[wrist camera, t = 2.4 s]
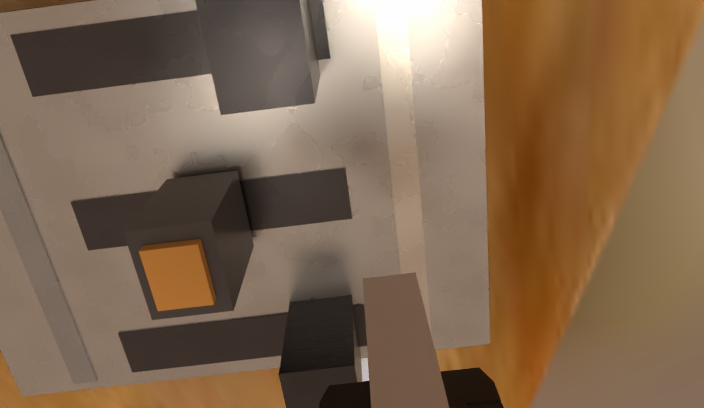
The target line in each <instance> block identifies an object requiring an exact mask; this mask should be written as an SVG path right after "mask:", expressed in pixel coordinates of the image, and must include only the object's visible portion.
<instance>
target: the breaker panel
mask: <svg viewBox="0 0 704 408" xmlns="http://www.w3.org/2000/svg"><path fill="white" fill-rule="evenodd" d="M236 170H237V171H238V176H239V181H240V185H241V190H242V194H243V199H244V203H245V208H246V212H247V217H248V221H249V226H250V230H251V235H252V239H253V244H254V247H253V250H252V254H251V257H250V260H249V263H248V266H247V270H246V273H245V276H244V279H243V282H242V286H241V289H240V292H239V295H238V299H237V302H236V305H235V308H234V311H227V312H219V313H210V314H201V315H193V316H184V317H176V318H167V319H158V320H152V319H151V316H150V313H149V309H148V306H147V303H146V300H145V297H144V294H143V291H142V288H141V285H140V282H139V279H138V276H137V273H136V270H135V267H134V264H133V260H132V257H131V254H130V251H129V248H128V245H127V242H126V239H125V236H124V233H123V231H124V230H125V229H126V228H127V227H128V225H129V224H130V223H131V222H132V221H133V219H134V218H135V217H136V216H137V215H138V213H139V212H140V211H141V210H142V209H143V207H144V206H145V205H146V204H147V203H148V201H149V200H150V199H151V198H152V197H153V195H154V194H155V193H156V192H157V190H158V189H159V188H160V187H161V186H162V184H163V183H164V182H165V181H166V180H167V179H171V178H180V177H188V176H196V175H204V174H212V173H220V172H228V171H236ZM414 272H416V276H417V280H418V284H419V288H420V292H421V296H422V300H423V304H424V308H425V312H426V316H427V320H428V324H429V328H430V332H431V336H432V340H433V344H434V348H435V350H440V349H449V348H458V347H466V346H475V345H484V344H490V316H489V276H488V235H487V194H486V153H485V112H484V72H483V31H482V0H94V1H86V2H79V3H71V4H64V5H56V6H49V7H41V8H34V9H27V10H19V11H12V12H4V13H0V350H1V352H2V354H3V356H4V359H5V361H6V363H7V365H8V367H9V369H10V371H11V373H12V375H13V377H14V380H15V382H16V384H17V386H18V388H19V390H20V392H21V394H22V396H32V395H41V394H50V393H58V392H67V391H76V390H85V389H94V388H103V387H112V386H121V385H129V384H138V383H147V382H156V381H165V380H174V379H183V378H191V377H200V376H209V375H218V374H227V373H236V372H245V371H254V370H262V369H271V368H280V369H279V377H280V382H281V386H282V391H283V395H284V399H285V404H286V408H319V402H320V400H321V399H322V397H323V395H324V393H325V392H326V390H327V388H328V386H329V385H336V384H345V383H354V382H362V369H361V358H368V352H367V337H366V321H365V306H364V291H363V278H371V277H379V276H388V275H397V274H405V273H414Z"/></svg>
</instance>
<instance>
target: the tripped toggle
mask: <svg viewBox="0 0 704 408" xmlns="http://www.w3.org/2000/svg"><path fill="white" fill-rule="evenodd" d="M123 233H124V236H125V239H126V242H127V245H128V248H129V251H130V254H131V257H132V260H133V264H134V267H135V270H136V273H137V276H138V279H139V282H140V285H141V288H142V291H143V294H144V297H145V300H146V303H147V306H148V309H149V313H150V316H151V319H152V320H158V319H167V318H176V317H184V316H193V315H201V314H210V313H219V312H227V311H234V308H235V305H236V302H237V299H238V295H239V292H240V289H241V286H242V282H243V279H244V276H245V273H246V270H247V266H248V263H249V260H250V257H251V254H252V250H253V247H254V244H253V239H252V235H251V230H250V226H249V221H248V217H247V212H246V208H245V203H244V199H243V194H242V190H241V185H240V181H239V176H238V171H237V170H236V171H228V172H220V173H212V174H204V175H196V176H188V177H180V178H171V179H167V180H166V181H165V182H164V183H163V184H162V186H161V187H160V188H159V189H158V190H157V192H156V193H155V194H154V195H153V197H152V198H151V199H150V200H149V201H148V203H147V204H146V205H145V206H144V207H143V209H142V210H141V211H140V212H139V213H138V215H137V216H136V217H135V218H134V219H133V221H132V222H131V223H130V224H129V225H128V227H127V228H126V229H125V230H124V231H123Z"/></svg>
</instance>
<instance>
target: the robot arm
mask: <svg viewBox="0 0 704 408" xmlns="http://www.w3.org/2000/svg"><path fill="white" fill-rule="evenodd" d="M363 291H364V306H365V321H366V337H367V352H368V367H369V381H364V382H354V383H345V384H336V385H329V386H328V388H327V390H326V392H325V393H324V395H323V397H322V399H321V400H320V402H319V408H504V407H503V405H502V403H501V400H500V397H499V394H498V392H497V389H496V386H495V384H494V382H493V381H492V380H491V379H490V378H489V377H488V376H487V375H486V374H485V373H484V372H483V371H482V370H481V369H480V368H470V369H461V370H452V371H443V372H440V368H439V364H438V360H437V356H436V352H435V348H434V344H433V340H432V336H431V332H430V328H429V324H428V320H427V316H426V312H425V308H424V304H423V300H422V296H421V292H420V288H419V284H418V280H417V276H416V272H414V273H405V274H397V275H388V276H379V277H371V278H363Z"/></svg>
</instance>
